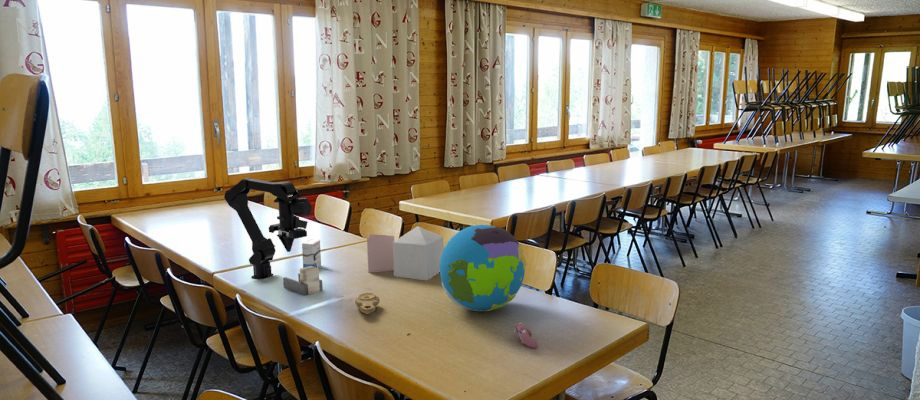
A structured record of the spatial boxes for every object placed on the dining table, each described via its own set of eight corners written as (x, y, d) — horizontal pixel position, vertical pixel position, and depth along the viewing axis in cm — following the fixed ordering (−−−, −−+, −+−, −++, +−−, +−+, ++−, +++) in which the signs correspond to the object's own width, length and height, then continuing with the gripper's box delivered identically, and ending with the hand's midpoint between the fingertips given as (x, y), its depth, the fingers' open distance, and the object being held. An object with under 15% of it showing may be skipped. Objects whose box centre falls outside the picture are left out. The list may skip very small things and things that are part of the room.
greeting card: (395, 269, 263) (395, 235, 260) (388, 274, 256) (387, 239, 253) (372, 267, 266) (370, 233, 263) (363, 272, 259) (362, 237, 257)
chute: (283, 290, 237) (283, 277, 236) (301, 285, 243) (300, 273, 242) (305, 298, 228) (304, 285, 227) (322, 292, 234) (322, 280, 233)
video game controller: (519, 341, 192) (510, 322, 191) (532, 334, 192) (523, 315, 191) (526, 354, 183) (516, 335, 181) (539, 347, 183) (529, 328, 181)
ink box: (313, 270, 262) (312, 244, 260) (302, 270, 263) (301, 243, 260) (321, 265, 270) (320, 239, 268) (311, 264, 271) (309, 238, 269)
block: (300, 291, 232) (299, 268, 230) (312, 288, 235) (310, 265, 234) (308, 294, 228) (307, 271, 227) (319, 291, 232) (318, 268, 230)
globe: (469, 332, 195) (469, 241, 189) (424, 305, 220) (422, 223, 214) (542, 314, 210) (544, 228, 205) (492, 290, 235) (492, 213, 230)
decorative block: (393, 276, 253) (392, 229, 250) (410, 266, 268) (409, 221, 264) (428, 280, 247) (427, 232, 244) (444, 269, 262) (443, 224, 258)
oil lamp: (365, 320, 206) (364, 306, 205) (345, 308, 217) (344, 295, 216) (392, 313, 213) (391, 299, 212) (371, 302, 224) (370, 289, 223)
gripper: (317, 213, 244) (319, 251, 247) (290, 207, 256) (292, 244, 259) (293, 218, 236) (295, 257, 239) (266, 211, 248) (269, 249, 251)
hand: (288, 251), depth 247 cm, fingers closed
